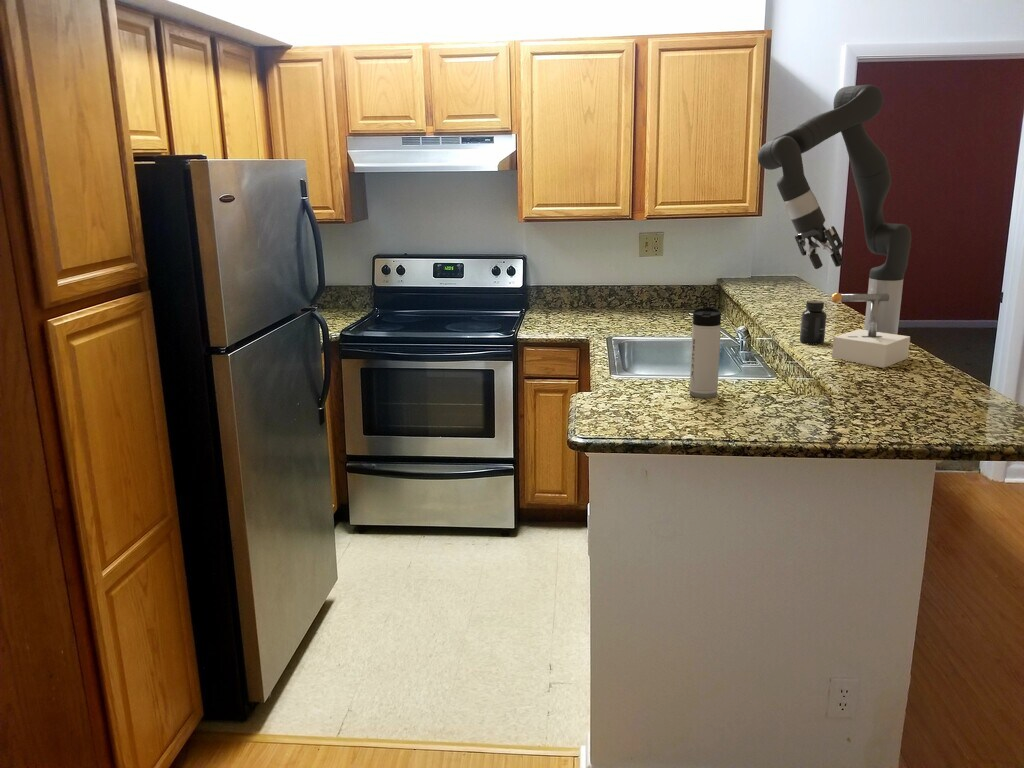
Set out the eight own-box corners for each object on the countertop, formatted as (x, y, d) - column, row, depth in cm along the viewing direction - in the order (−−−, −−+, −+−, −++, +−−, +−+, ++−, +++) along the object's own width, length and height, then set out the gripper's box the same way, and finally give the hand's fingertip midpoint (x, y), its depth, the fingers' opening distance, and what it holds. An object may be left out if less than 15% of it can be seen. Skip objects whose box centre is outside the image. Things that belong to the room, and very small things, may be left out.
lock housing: (856, 350, 224) (858, 328, 222) (907, 358, 213) (910, 336, 212) (831, 358, 215) (833, 336, 213) (883, 367, 205) (886, 344, 203)
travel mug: (718, 391, 187) (722, 307, 182) (715, 399, 181) (720, 312, 176) (691, 389, 189) (694, 306, 184) (687, 397, 183) (691, 311, 178)
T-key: (881, 334, 214) (886, 291, 211) (885, 336, 211) (890, 293, 208) (826, 334, 215) (830, 291, 211) (829, 337, 212) (833, 293, 209)
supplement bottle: (826, 345, 231) (829, 304, 227) (801, 344, 232) (804, 303, 229) (822, 340, 237) (825, 300, 234) (798, 339, 238) (801, 299, 235)
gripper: (833, 200, 201) (858, 257, 204) (798, 208, 215) (823, 261, 218) (810, 214, 200) (836, 271, 203) (777, 221, 213) (801, 275, 216)
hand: (829, 266), depth 210 cm, fingers open, 8 cm apart
